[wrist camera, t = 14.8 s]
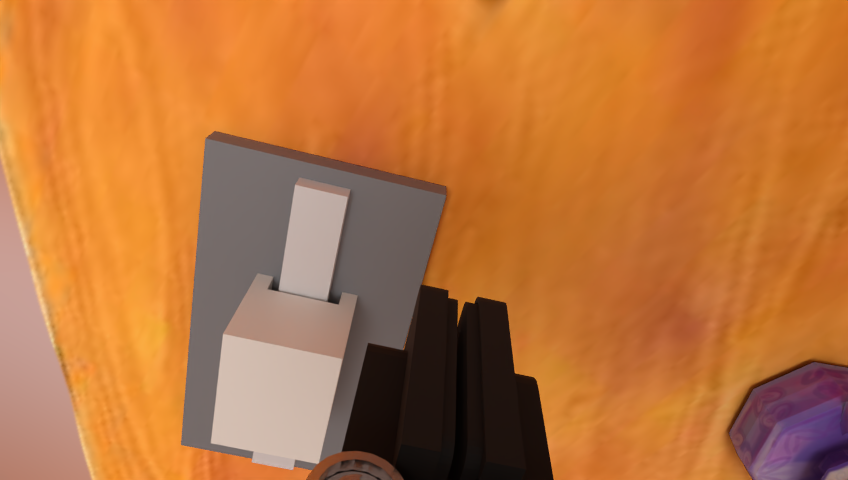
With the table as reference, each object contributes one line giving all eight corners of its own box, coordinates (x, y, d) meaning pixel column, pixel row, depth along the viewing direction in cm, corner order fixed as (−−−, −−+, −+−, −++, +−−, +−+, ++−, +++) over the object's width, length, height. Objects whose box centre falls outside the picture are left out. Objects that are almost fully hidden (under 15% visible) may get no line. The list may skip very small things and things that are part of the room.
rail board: (446, 186, 35) (446, 203, 33) (368, 464, 45) (364, 493, 43) (214, 131, 34) (197, 144, 31) (189, 430, 44) (174, 457, 42)
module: (357, 295, 37) (342, 359, 31) (335, 390, 40) (318, 464, 34) (257, 273, 36) (222, 333, 30) (244, 371, 40) (210, 443, 34)
